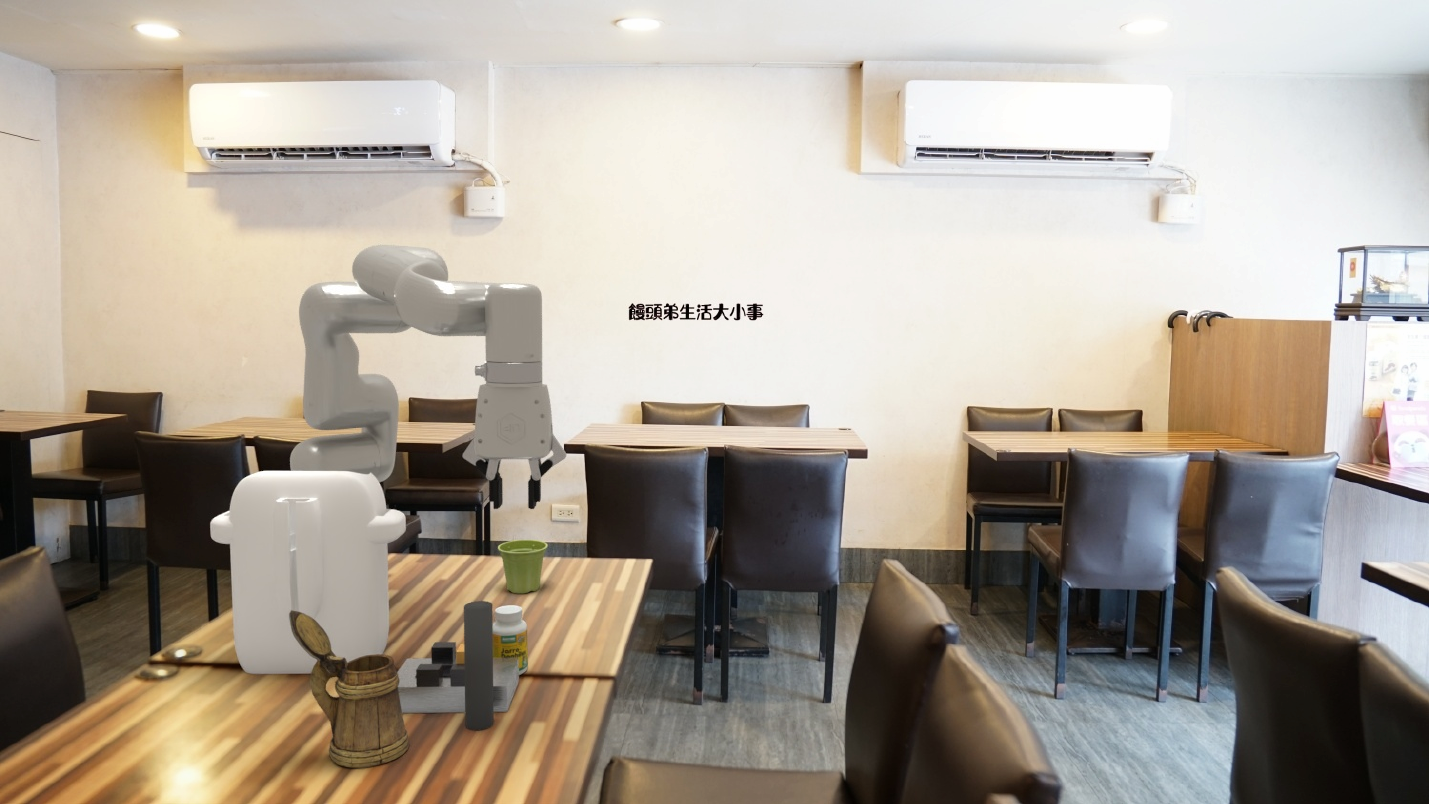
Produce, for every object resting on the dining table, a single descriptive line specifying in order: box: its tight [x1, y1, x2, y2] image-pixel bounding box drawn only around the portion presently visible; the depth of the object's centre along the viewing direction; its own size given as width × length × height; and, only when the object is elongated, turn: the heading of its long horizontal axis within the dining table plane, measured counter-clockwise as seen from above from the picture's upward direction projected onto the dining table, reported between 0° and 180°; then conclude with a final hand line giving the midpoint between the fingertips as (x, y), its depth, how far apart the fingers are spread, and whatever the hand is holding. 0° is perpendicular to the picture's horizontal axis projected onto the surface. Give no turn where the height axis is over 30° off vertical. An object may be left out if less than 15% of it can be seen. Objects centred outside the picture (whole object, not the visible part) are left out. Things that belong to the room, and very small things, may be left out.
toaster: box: [209, 470, 407, 675], centre depth 134 cm, size 27×11×30 cm, turn 94°
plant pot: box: [497, 539, 549, 595], centre depth 174 cm, size 9×9×9 cm
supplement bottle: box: [493, 604, 529, 676], centre depth 135 cm, size 5×5×10 cm
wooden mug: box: [289, 610, 410, 769], centre depth 109 cm, size 9×14×18 cm, turn 96°
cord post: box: [463, 600, 495, 731], centre depth 117 cm, size 4×4×16 cm
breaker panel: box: [397, 641, 520, 714], centre depth 126 cm, size 16×10×6 cm, turn 93°
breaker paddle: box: [456, 643, 464, 664], centre depth 125 cm, size 3×3×3 cm
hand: (515, 505), depth 124 cm, fingers open, 4 cm apart
